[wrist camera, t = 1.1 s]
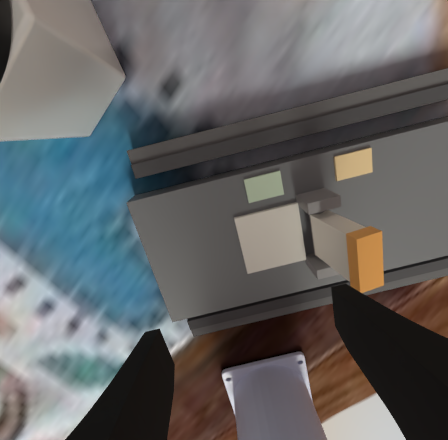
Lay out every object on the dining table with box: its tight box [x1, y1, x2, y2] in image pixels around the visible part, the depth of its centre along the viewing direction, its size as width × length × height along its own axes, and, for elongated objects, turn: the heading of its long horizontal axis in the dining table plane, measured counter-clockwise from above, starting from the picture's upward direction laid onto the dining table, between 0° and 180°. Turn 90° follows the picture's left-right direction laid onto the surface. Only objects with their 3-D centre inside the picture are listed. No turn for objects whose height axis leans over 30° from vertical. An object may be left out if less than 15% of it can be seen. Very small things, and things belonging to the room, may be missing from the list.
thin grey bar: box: [187, 255, 448, 337], centre depth 22 cm, size 2×22×2 cm, turn 104°
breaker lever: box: [309, 210, 384, 293], centre depth 16 cm, size 3×1×5 cm, turn 13°
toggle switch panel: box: [127, 116, 448, 322], centre depth 18 cm, size 10×28×4 cm, turn 104°
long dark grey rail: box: [127, 68, 448, 179], centre depth 17 cm, size 2×22×2 cm, turn 103°
